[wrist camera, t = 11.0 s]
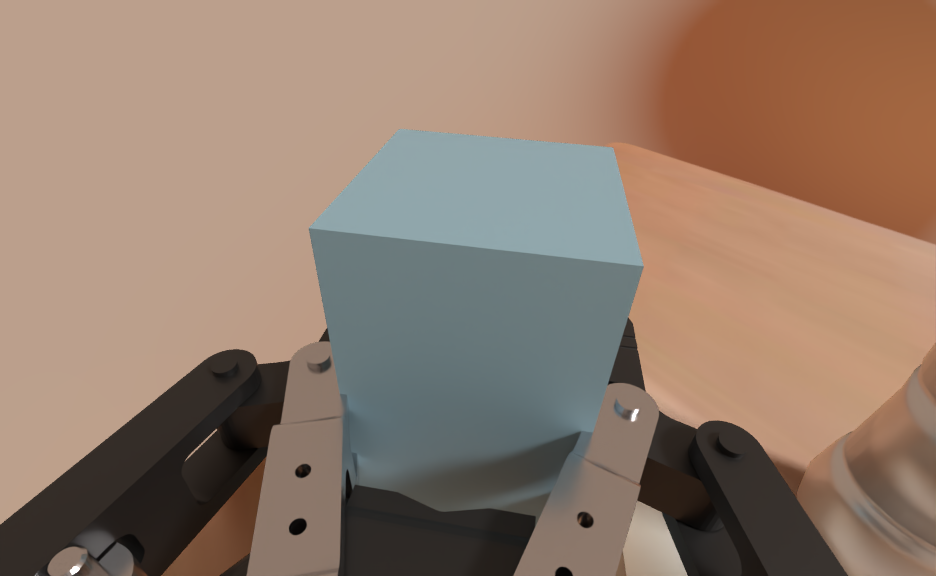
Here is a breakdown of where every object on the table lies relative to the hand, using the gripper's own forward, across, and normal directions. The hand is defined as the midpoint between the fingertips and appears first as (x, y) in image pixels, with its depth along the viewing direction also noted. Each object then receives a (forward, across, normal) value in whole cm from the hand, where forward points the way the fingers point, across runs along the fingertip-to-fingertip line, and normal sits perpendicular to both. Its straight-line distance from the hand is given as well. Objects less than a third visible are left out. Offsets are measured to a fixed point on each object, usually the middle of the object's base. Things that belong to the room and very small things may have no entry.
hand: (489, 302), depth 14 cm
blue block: (-3, 0, +7) cm, 8 cm away
